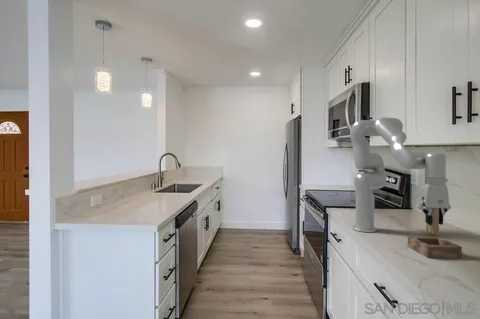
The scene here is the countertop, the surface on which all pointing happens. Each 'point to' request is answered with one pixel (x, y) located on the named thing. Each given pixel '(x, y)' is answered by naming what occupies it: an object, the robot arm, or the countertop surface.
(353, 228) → the robot arm
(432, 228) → the handle
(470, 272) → the countertop surface
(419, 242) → the square frame
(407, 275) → the countertop surface
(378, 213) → the countertop surface
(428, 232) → the lemon
